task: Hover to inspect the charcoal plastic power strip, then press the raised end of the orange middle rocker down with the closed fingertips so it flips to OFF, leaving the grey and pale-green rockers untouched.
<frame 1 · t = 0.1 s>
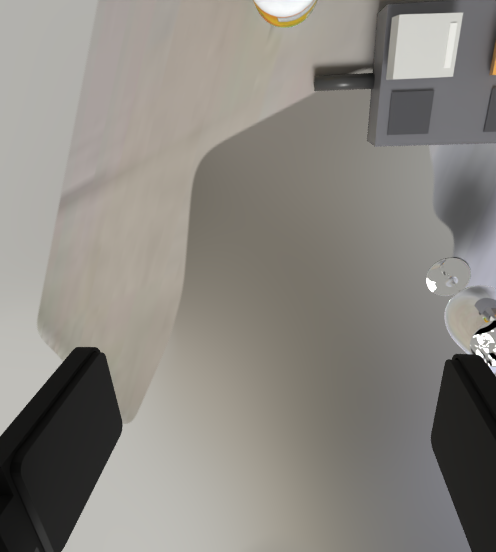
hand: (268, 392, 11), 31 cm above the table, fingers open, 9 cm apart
power strip: (493, 75, 34), on the table
wineglass: (447, 276, 42), on the table
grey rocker: (423, 47, 29), point 5 cm above the table, hinge at -12.0°
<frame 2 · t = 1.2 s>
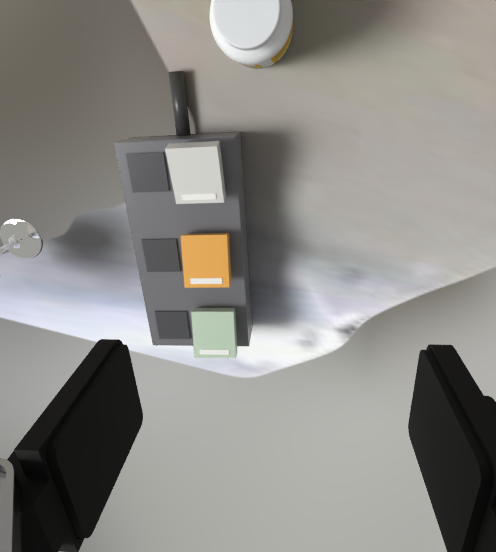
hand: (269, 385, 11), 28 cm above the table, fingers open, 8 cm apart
supplement bottle: (259, 31, 32), on the table
green rocker: (214, 332, 38), point 5 cm above the table, hinge at 12.0°
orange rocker: (206, 260, 35), point 5 cm above the table, hinge at 12.0°
power strip: (197, 239, 40), on the table
wineglass: (22, 238, 42), on the table
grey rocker: (196, 173, 31), point 5 cm above the table, hinge at -12.0°
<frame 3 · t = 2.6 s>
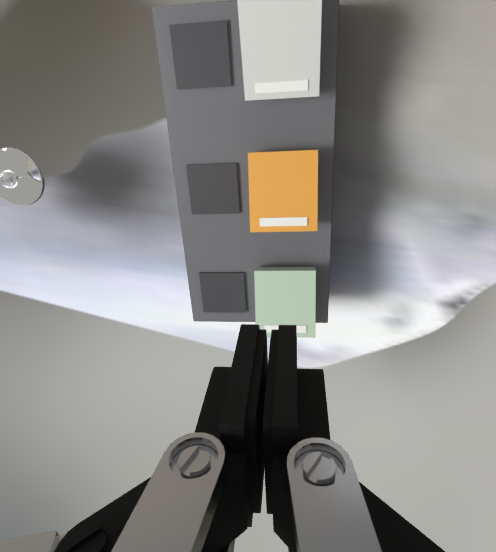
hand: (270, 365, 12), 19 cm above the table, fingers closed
green rocker: (285, 301, 27), point 5 cm above the table, hinge at 12.0°
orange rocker: (283, 192, 24), point 5 cm above the table, hinge at 12.0°
power strip: (257, 175, 29), on the table
wineglass: (17, 176, 31), on the table
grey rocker: (280, 48, 20), point 5 cm above the table, hinge at -12.0°
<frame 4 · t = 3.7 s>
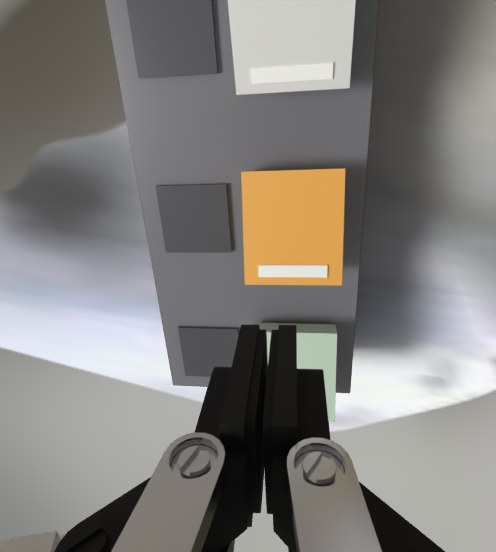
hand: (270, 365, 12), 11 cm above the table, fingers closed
green rocker: (293, 371, 20), point 5 cm above the table, hinge at 12.0°
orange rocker: (292, 227, 16), point 5 cm above the table, hinge at 12.0°
power strip: (258, 195, 21), on the table
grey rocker: (291, 12, 13), point 5 cm above the table, hinge at -12.0°
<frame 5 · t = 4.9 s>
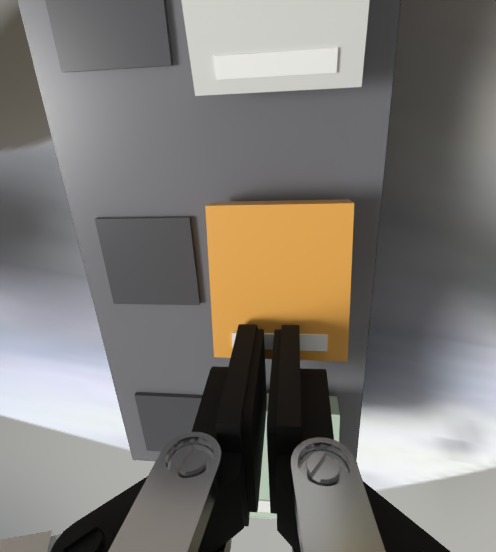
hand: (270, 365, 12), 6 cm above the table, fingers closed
green rocker: (282, 457, 15), point 5 cm above the table, hinge at 12.0°
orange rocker: (279, 280, 12), point 5 cm above the table, hinge at 9.9°, touching gripper
power strip: (238, 223, 17), on the table
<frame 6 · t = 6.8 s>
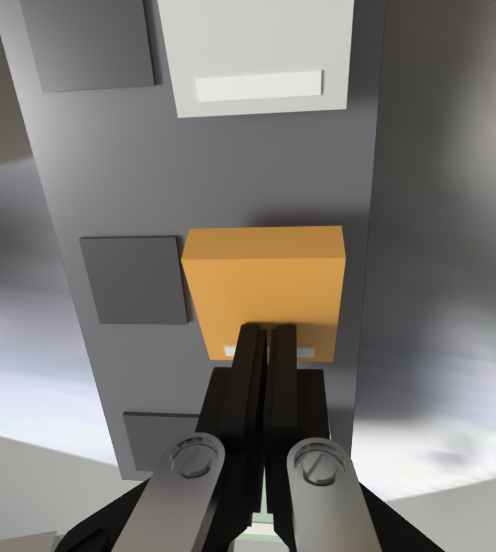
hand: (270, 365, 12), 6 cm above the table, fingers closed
green rocker: (274, 477, 15), point 5 cm above the table, hinge at 12.0°
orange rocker: (267, 302, 12), point 5 cm above the table, hinge at -21.1°
power strip: (227, 239, 17), on the table
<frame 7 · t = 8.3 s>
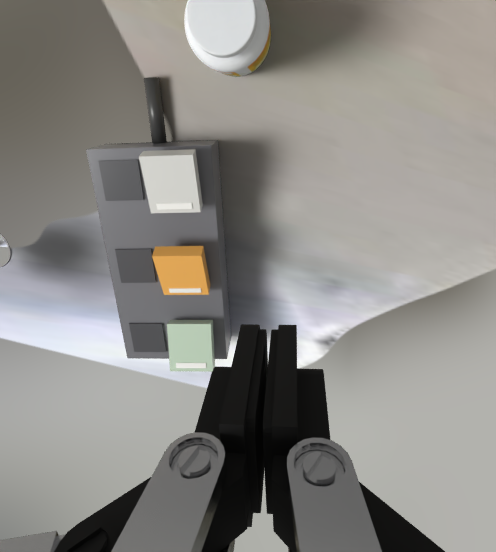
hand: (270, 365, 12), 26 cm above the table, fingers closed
supplement bottle: (236, 38, 31), on the table
green rocker: (191, 345, 37), point 5 cm above the table, hinge at 12.0°
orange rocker: (182, 271, 34), point 5 cm above the table, hinge at -20.9°
power strip: (174, 249, 39), on the table
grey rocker: (172, 182, 31), point 5 cm above the table, hinge at -12.0°
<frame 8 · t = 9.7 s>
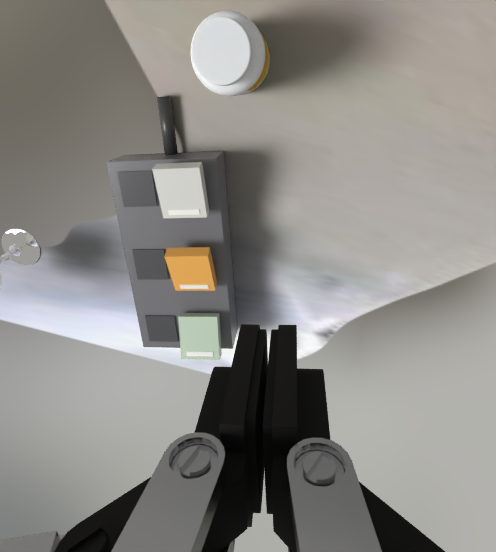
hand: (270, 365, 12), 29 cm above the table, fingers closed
supplement bottle: (239, 60, 35), on the table
green rocker: (200, 336, 41), point 5 cm above the table, hinge at 12.0°
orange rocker: (191, 269, 38), point 5 cm above the table, hinge at -20.9°
power strip: (185, 249, 43), on the table
wineglass: (22, 246, 45), on the table
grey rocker: (182, 191, 34), point 5 cm above the table, hinge at -12.0°
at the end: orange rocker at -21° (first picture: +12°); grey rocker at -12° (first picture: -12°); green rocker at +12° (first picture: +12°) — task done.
